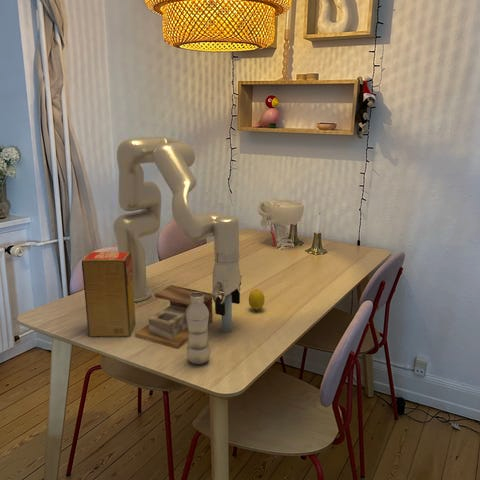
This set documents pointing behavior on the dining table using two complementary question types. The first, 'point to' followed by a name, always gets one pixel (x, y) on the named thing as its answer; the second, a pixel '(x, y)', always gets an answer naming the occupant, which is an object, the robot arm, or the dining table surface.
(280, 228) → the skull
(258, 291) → the lemon
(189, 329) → the plastic bottle
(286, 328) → the dining table surface
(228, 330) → the peg
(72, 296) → the dining table surface
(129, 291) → the food packaging
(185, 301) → the stand
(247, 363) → the dining table surface
